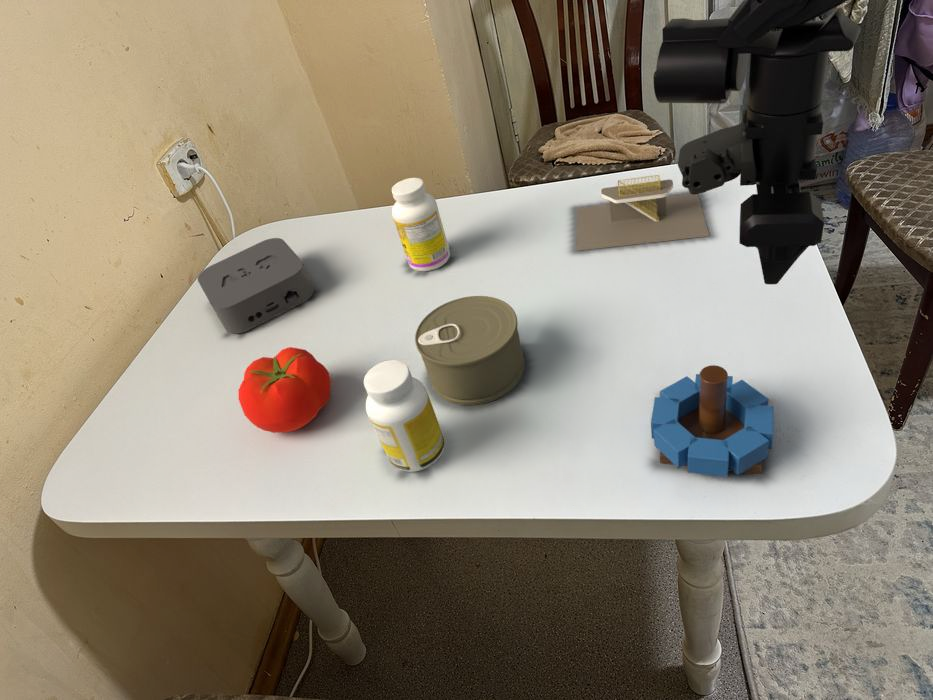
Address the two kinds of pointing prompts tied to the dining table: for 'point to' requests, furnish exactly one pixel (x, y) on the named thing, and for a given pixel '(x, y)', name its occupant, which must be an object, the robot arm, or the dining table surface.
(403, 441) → the pill bottle
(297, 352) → the tomato
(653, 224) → the platform
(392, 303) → the dining table surface
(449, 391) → the can
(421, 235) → the supplement bottle
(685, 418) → the peg stand
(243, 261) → the streaming box
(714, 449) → the blue ring
